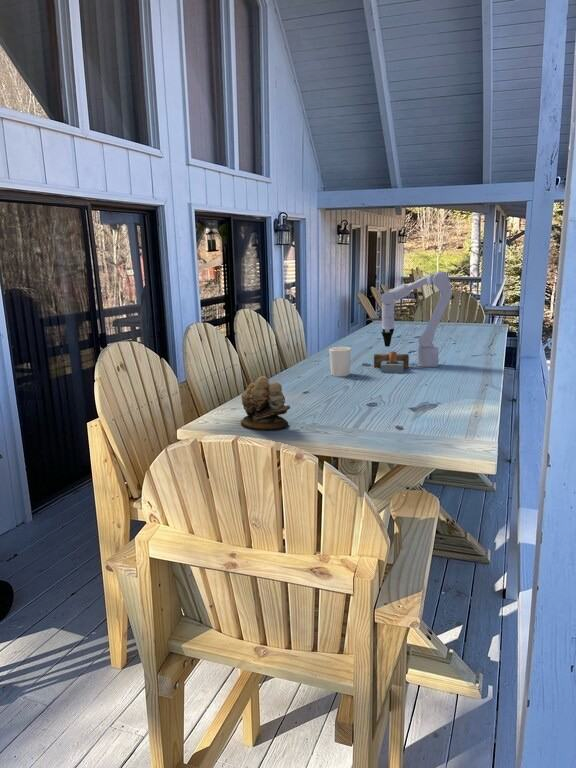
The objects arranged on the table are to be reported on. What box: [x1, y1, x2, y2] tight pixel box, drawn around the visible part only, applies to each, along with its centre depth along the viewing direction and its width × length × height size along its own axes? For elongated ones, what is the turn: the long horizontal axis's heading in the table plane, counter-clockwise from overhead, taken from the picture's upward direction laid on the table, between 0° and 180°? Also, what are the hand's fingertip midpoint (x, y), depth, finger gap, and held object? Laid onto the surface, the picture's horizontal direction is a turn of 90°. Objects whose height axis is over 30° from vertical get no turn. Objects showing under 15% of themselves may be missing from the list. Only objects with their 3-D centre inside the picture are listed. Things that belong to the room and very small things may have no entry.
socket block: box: [380, 361, 405, 374], centre depth 253 cm, size 10×10×4 cm
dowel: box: [388, 351, 397, 364], centre depth 252 cm, size 3×3×8 cm
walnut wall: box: [373, 353, 410, 369], centre depth 259 cm, size 16×3×6 cm, turn 77°
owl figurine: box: [240, 375, 291, 432], centre depth 180 cm, size 18×12×17 cm, turn 65°
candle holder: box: [328, 346, 352, 377], centre depth 247 cm, size 10×10×12 cm
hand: (387, 345), depth 264 cm, fingers open, 7 cm apart
